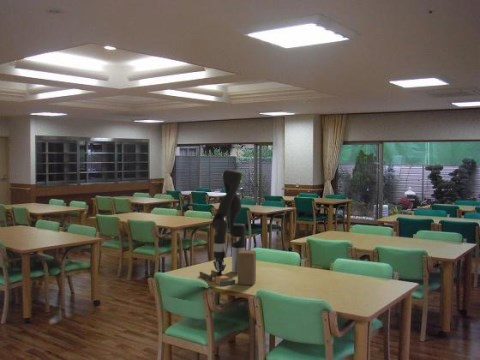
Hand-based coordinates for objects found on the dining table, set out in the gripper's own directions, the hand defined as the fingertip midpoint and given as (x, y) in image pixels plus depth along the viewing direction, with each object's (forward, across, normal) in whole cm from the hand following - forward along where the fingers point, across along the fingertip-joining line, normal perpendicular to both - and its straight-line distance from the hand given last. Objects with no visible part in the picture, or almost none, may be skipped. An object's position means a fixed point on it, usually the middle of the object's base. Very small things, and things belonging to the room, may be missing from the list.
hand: (219, 277), depth 303 cm
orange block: (+3, -5, +1) cm, 5 cm away
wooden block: (+3, -14, -12) cm, 18 cm away
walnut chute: (+2, +10, 0) cm, 11 cm away
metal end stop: (+2, -10, 0) cm, 11 cm away
